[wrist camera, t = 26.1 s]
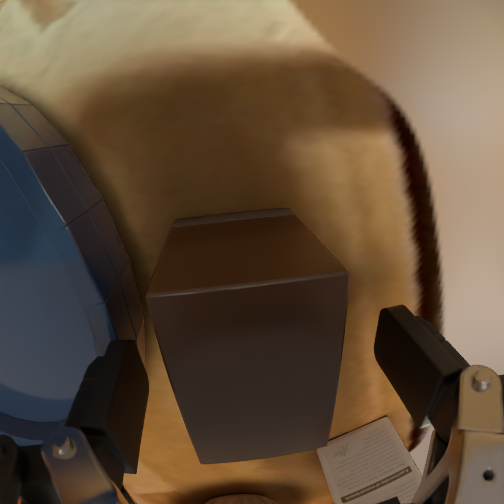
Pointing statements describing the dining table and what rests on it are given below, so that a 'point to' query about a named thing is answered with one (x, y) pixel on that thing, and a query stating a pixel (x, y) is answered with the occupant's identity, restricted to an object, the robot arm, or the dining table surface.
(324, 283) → the dark brown block
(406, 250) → the dining table surface
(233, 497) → the vase
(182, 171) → the dining table surface
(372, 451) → the syrup box
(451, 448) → the robot arm
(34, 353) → the glazed bowl
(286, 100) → the dining table surface
